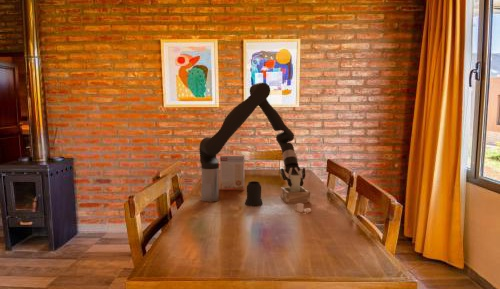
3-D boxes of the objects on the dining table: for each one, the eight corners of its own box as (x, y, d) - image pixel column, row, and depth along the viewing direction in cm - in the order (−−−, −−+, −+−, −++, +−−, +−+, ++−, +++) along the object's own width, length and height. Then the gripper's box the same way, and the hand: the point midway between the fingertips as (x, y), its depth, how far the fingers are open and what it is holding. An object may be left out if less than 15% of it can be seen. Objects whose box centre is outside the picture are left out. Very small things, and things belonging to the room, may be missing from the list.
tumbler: (298, 194, 168) (299, 176, 167) (288, 193, 171) (288, 175, 169) (301, 192, 174) (301, 174, 172) (291, 191, 176) (291, 173, 175)
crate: (309, 202, 167) (310, 192, 167) (286, 203, 165) (286, 193, 165) (302, 196, 180) (302, 186, 179) (280, 196, 178) (280, 187, 177)
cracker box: (244, 188, 196) (244, 154, 193) (243, 191, 190) (243, 156, 188) (222, 187, 197) (221, 154, 195) (220, 190, 191) (220, 155, 189)
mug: (261, 206, 160) (262, 184, 158) (243, 206, 161) (243, 184, 160) (264, 200, 171) (264, 179, 170) (247, 199, 173) (247, 178, 171)
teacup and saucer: (312, 212, 154) (313, 203, 153) (305, 216, 147) (306, 207, 147) (296, 208, 158) (296, 200, 158) (288, 212, 152) (289, 204, 151)
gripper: (278, 156, 176) (284, 182, 166) (304, 155, 178) (311, 181, 168) (276, 163, 182) (281, 189, 172) (300, 163, 184) (307, 188, 174)
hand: (296, 185), depth 170 cm, fingers closed on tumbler, 5 cm apart
